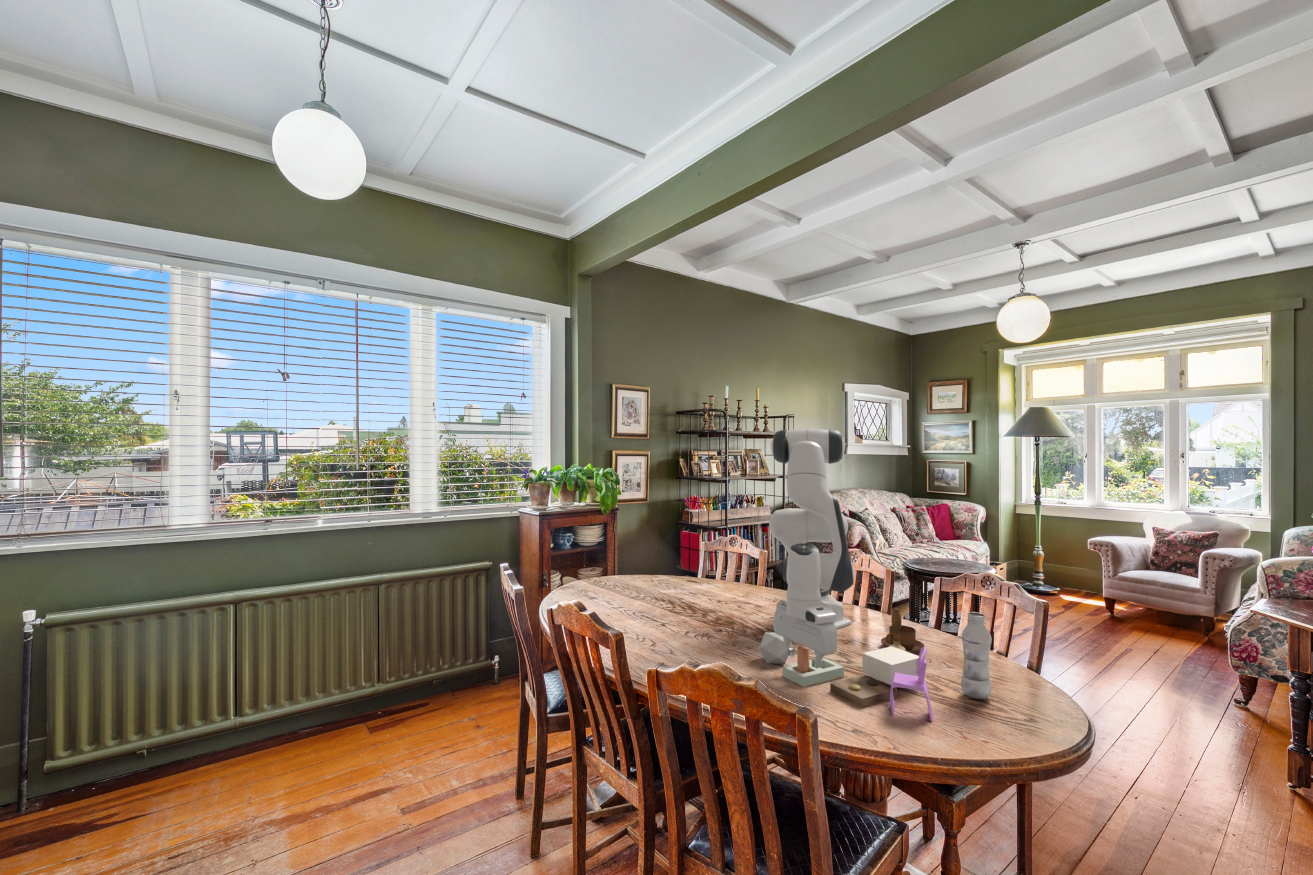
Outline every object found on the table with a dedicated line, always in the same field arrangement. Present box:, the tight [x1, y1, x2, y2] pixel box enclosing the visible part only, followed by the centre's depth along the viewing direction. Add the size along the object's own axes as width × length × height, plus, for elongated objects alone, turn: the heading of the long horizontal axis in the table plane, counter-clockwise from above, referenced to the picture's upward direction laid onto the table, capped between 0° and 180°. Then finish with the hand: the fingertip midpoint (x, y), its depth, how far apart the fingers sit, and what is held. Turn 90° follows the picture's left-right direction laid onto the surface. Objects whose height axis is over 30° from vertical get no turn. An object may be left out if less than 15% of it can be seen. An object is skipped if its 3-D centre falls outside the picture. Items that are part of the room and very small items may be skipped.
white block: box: [862, 646, 919, 686], centre depth 148 cm, size 11×9×5 cm
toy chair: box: [889, 646, 934, 723], centre depth 134 cm, size 8×9×15 cm
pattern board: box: [829, 673, 898, 708], centre depth 143 cm, size 12×10×2 cm
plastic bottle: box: [960, 611, 993, 700], centre depth 142 cm, size 6×7×20 cm
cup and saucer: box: [880, 624, 925, 654], centre depth 175 cm, size 12×12×6 cm
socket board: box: [782, 657, 845, 688], centre depth 154 cm, size 14×8×2 cm, turn 119°
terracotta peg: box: [796, 645, 810, 674], centre depth 152 cm, size 3×3×8 cm
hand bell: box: [889, 607, 906, 651], centre depth 161 cm, size 8×8×16 cm
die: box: [758, 631, 789, 664], centre depth 165 cm, size 8×9×10 cm
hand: (803, 661), depth 152 cm, fingers open, 8 cm apart
